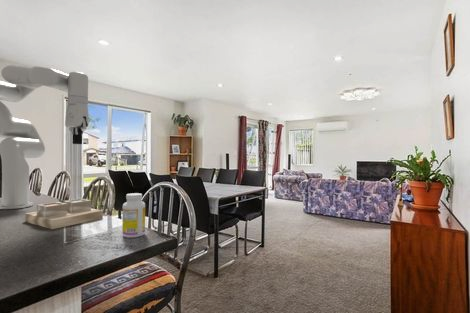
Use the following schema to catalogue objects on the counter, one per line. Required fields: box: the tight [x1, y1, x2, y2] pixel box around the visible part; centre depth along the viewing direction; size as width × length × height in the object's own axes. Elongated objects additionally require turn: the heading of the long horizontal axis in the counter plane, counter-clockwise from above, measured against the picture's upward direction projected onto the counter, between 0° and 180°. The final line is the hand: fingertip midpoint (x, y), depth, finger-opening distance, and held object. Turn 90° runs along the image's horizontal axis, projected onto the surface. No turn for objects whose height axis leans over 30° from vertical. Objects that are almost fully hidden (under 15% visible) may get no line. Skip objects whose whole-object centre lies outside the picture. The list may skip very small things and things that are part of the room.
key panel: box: [24, 198, 104, 230], centre depth 98 cm, size 18×18×7 cm
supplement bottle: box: [121, 192, 146, 239], centre depth 82 cm, size 7×7×13 cm
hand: (77, 143), depth 113 cm, fingers closed
